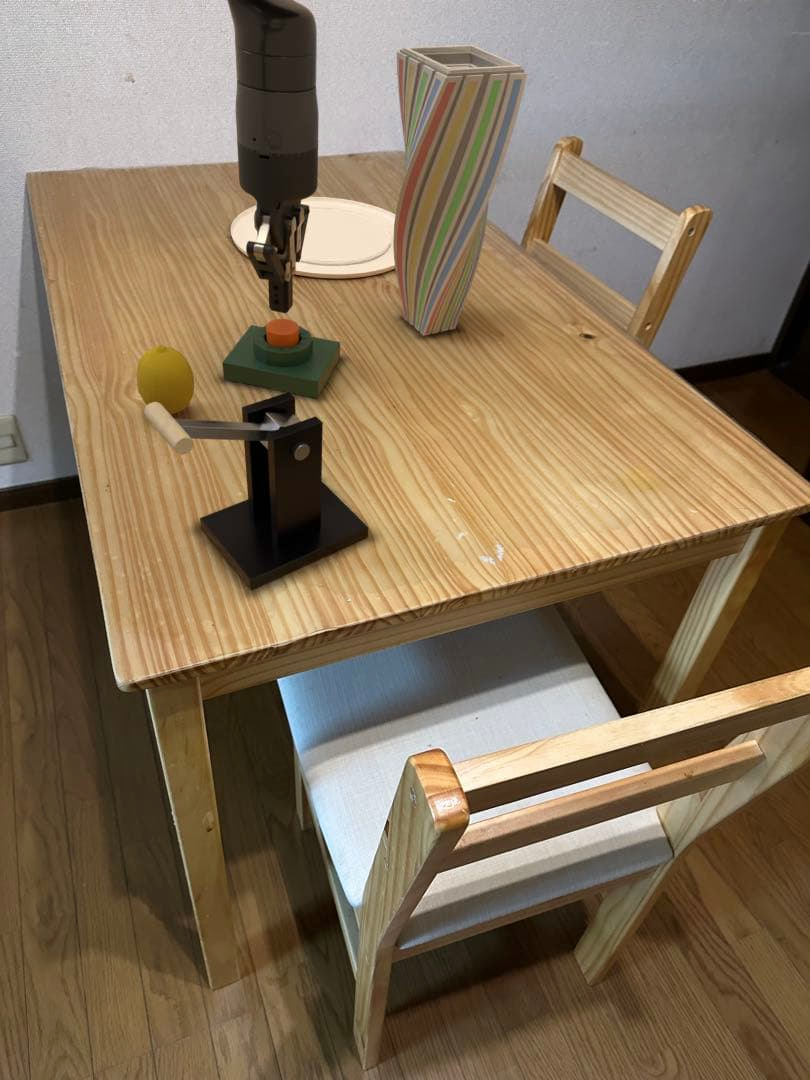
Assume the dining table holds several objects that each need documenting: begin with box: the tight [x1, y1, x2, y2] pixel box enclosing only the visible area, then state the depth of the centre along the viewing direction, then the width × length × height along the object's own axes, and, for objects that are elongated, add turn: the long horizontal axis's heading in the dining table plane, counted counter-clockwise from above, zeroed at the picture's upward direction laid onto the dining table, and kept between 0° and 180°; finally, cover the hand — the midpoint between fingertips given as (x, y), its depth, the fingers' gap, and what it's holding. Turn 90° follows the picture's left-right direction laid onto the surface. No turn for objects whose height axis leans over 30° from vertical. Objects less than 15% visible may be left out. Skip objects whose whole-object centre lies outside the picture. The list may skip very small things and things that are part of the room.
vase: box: [393, 44, 528, 336], centre depth 89 cm, size 14×14×30 cm
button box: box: [221, 324, 341, 399], centre depth 87 cm, size 11×9×4 cm
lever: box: [143, 402, 302, 456], centre depth 58 cm, size 12×5×2 cm, turn 128°
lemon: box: [136, 344, 195, 416], centre depth 77 cm, size 6×6×8 cm
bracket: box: [199, 392, 369, 590], centre depth 65 cm, size 12×9×13 cm
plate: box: [229, 196, 396, 279], centre depth 115 cm, size 28×28×1 cm
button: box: [265, 318, 300, 347], centre depth 85 cm, size 4×4×2 cm
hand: (281, 309), depth 83 cm, fingers closed
